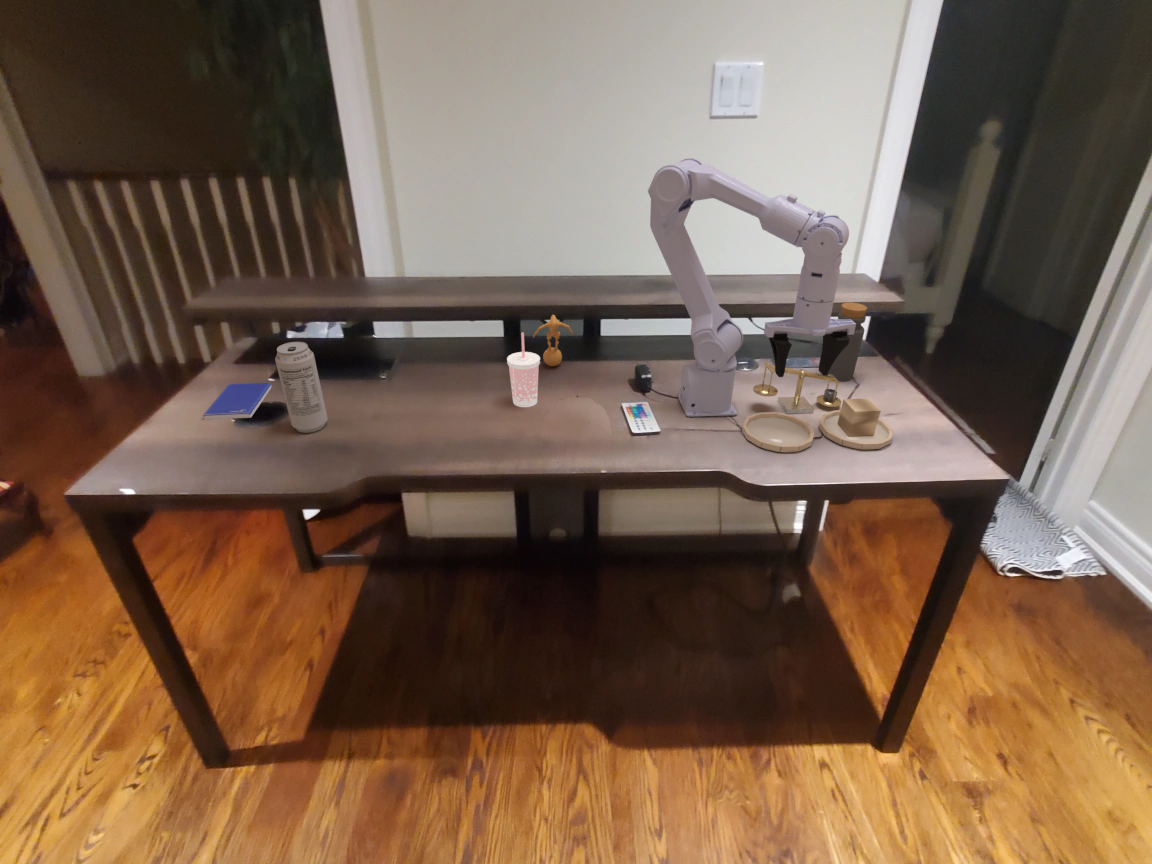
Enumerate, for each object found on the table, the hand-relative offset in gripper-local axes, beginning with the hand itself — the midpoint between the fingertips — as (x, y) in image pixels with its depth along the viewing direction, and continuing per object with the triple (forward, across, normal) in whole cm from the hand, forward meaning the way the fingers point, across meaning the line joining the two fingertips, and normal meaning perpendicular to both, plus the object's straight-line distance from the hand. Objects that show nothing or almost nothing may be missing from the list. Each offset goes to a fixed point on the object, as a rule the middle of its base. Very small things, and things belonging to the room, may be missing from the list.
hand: (801, 374), depth 109 cm
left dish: (+10, -4, -3) cm, 11 cm away
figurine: (+10, -42, +27) cm, 51 cm away
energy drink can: (+9, -86, +5) cm, 86 cm away
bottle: (+11, +18, +20) cm, 29 cm away
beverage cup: (+10, -48, +12) cm, 50 cm away
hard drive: (+10, -101, +15) cm, 103 cm away
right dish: (+11, +10, -3) cm, 15 cm away
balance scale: (+10, +4, +7) cm, 13 cm away
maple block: (+10, +10, -3) cm, 15 cm away
